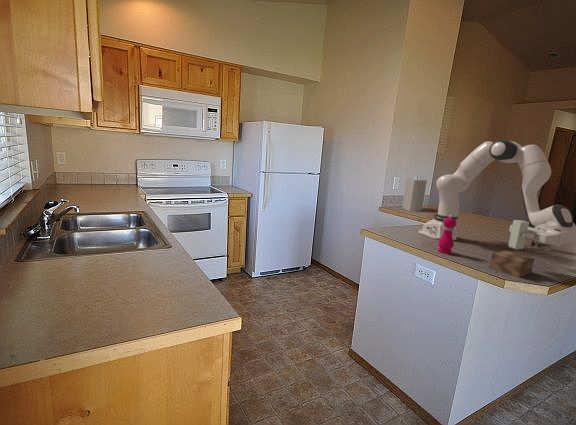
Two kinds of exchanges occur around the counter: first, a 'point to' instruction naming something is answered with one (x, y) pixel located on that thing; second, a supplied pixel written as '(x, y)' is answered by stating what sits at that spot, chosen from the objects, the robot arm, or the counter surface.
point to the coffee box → (540, 246)
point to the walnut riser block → (512, 263)
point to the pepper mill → (447, 236)
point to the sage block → (518, 234)
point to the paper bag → (414, 194)
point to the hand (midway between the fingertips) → (516, 233)
